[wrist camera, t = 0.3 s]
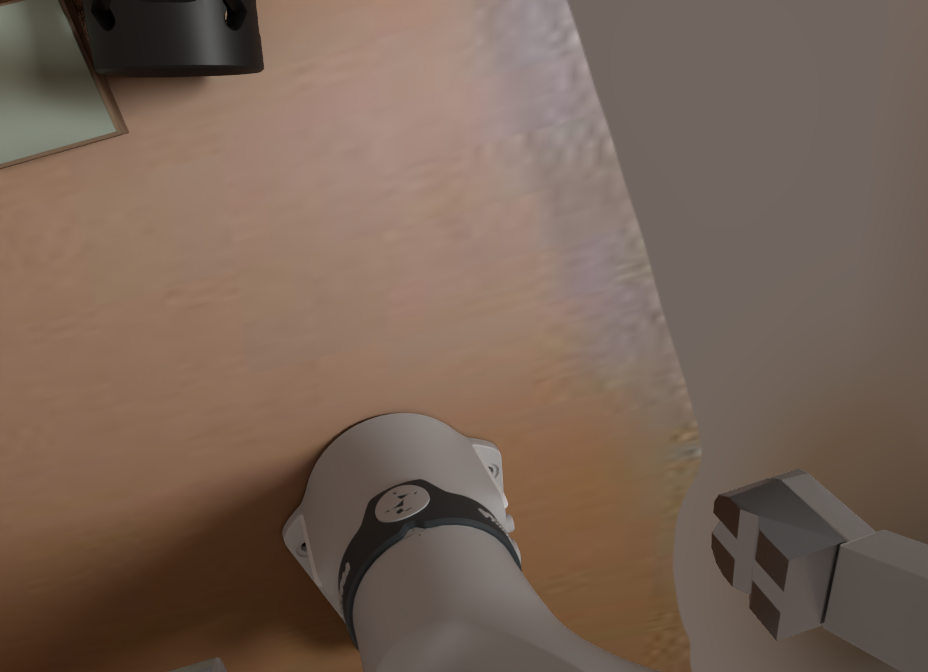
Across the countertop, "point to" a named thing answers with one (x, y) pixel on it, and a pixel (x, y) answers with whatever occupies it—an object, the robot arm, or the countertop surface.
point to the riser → (50, 83)
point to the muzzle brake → (174, 37)
